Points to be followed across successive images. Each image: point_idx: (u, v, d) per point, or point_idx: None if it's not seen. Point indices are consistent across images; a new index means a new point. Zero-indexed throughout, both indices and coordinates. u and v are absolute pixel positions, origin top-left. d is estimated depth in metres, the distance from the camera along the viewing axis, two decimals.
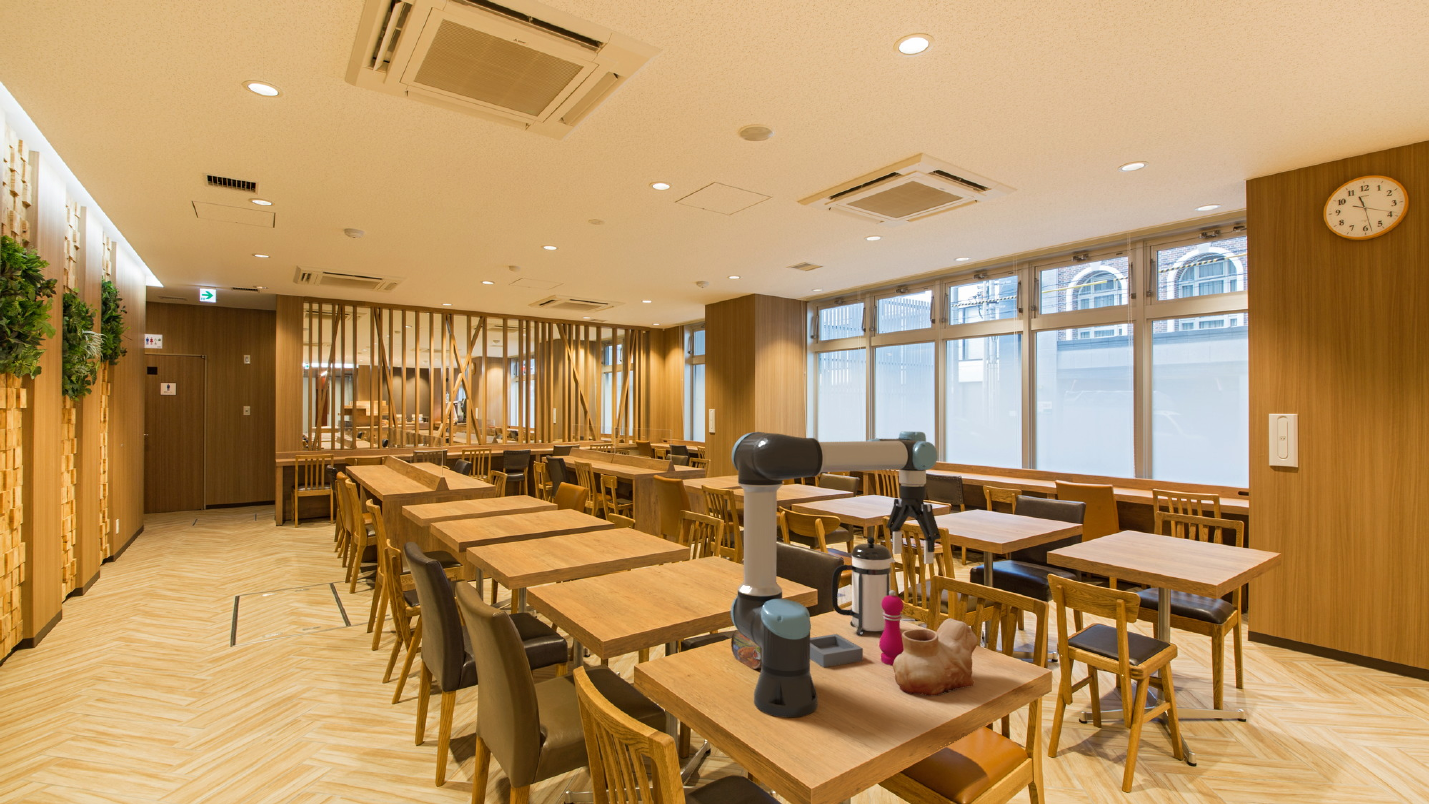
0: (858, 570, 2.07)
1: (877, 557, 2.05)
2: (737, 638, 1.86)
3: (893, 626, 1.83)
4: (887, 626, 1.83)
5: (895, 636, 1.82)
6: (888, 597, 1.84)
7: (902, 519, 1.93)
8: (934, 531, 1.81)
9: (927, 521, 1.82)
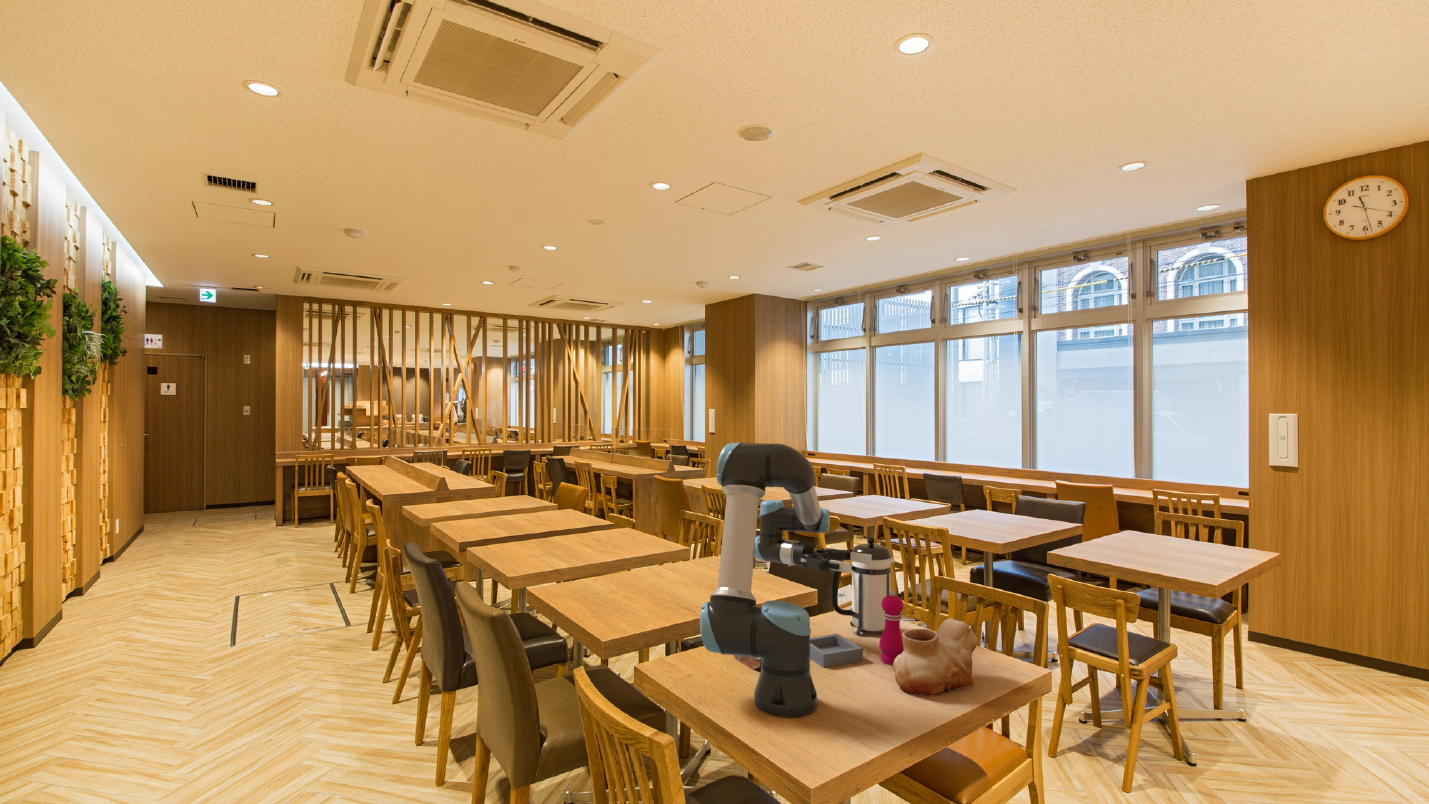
0: (858, 570, 2.07)
1: (877, 557, 2.05)
2: None
3: (893, 626, 1.83)
4: (887, 626, 1.83)
5: (895, 636, 1.82)
6: (888, 597, 1.84)
7: None
8: None
9: (836, 549, 2.04)
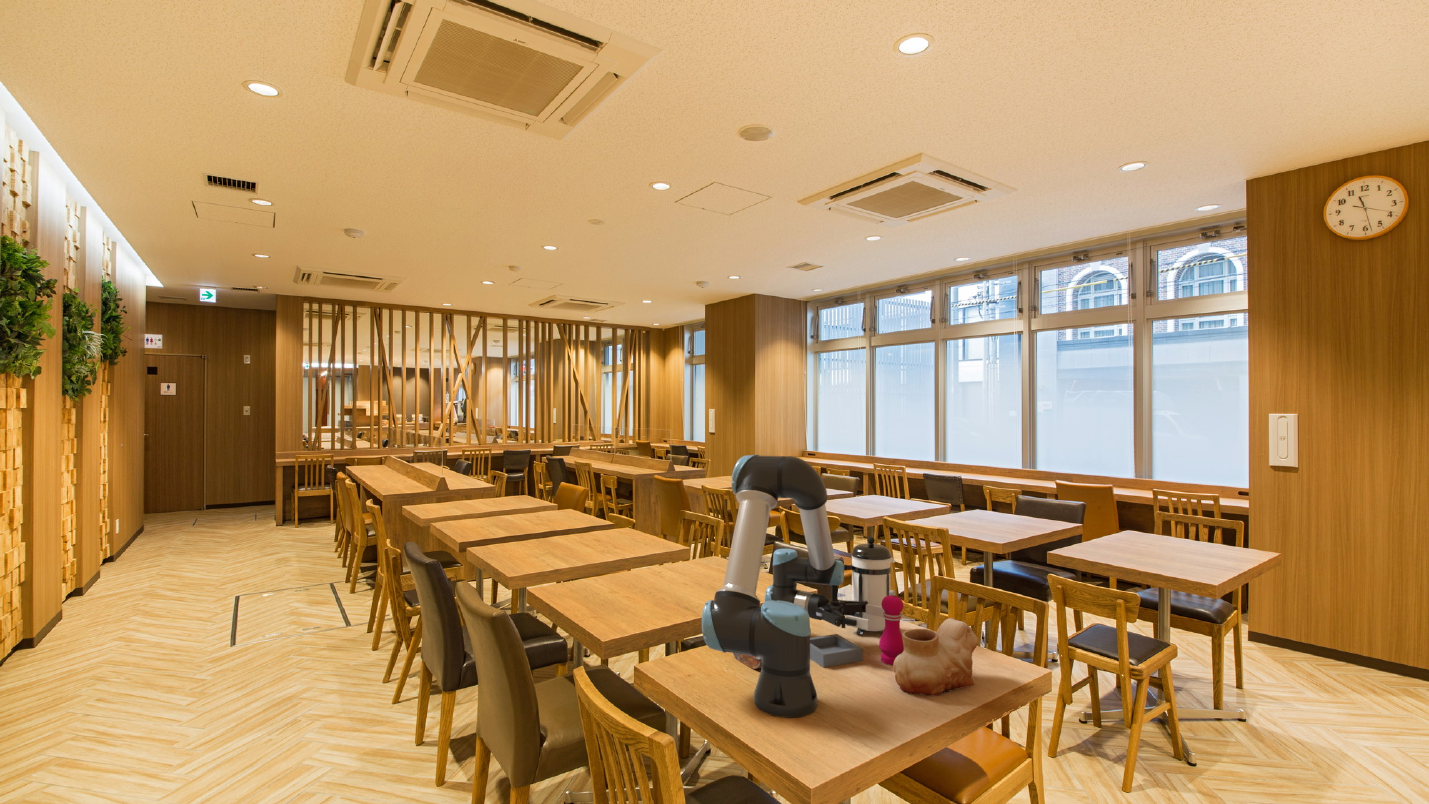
0: (858, 570, 2.07)
1: (877, 557, 2.05)
2: None
3: (893, 626, 1.83)
4: (887, 626, 1.83)
5: (895, 636, 1.82)
6: (888, 597, 1.84)
7: None
8: None
9: (851, 601, 2.01)
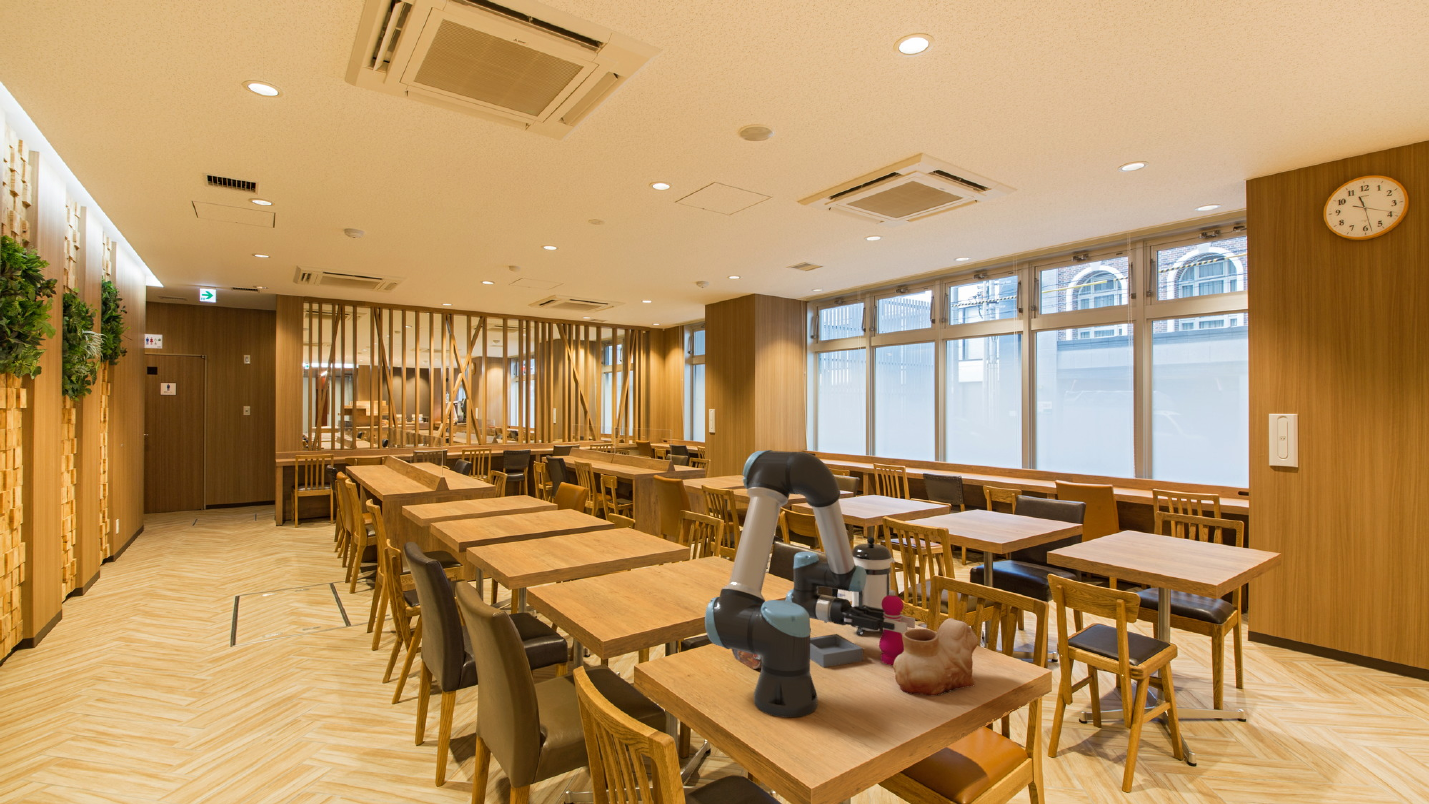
0: None
1: (877, 557, 2.05)
2: None
3: None
4: None
5: (895, 636, 1.82)
6: (888, 597, 1.84)
7: None
8: None
9: (876, 608, 1.93)
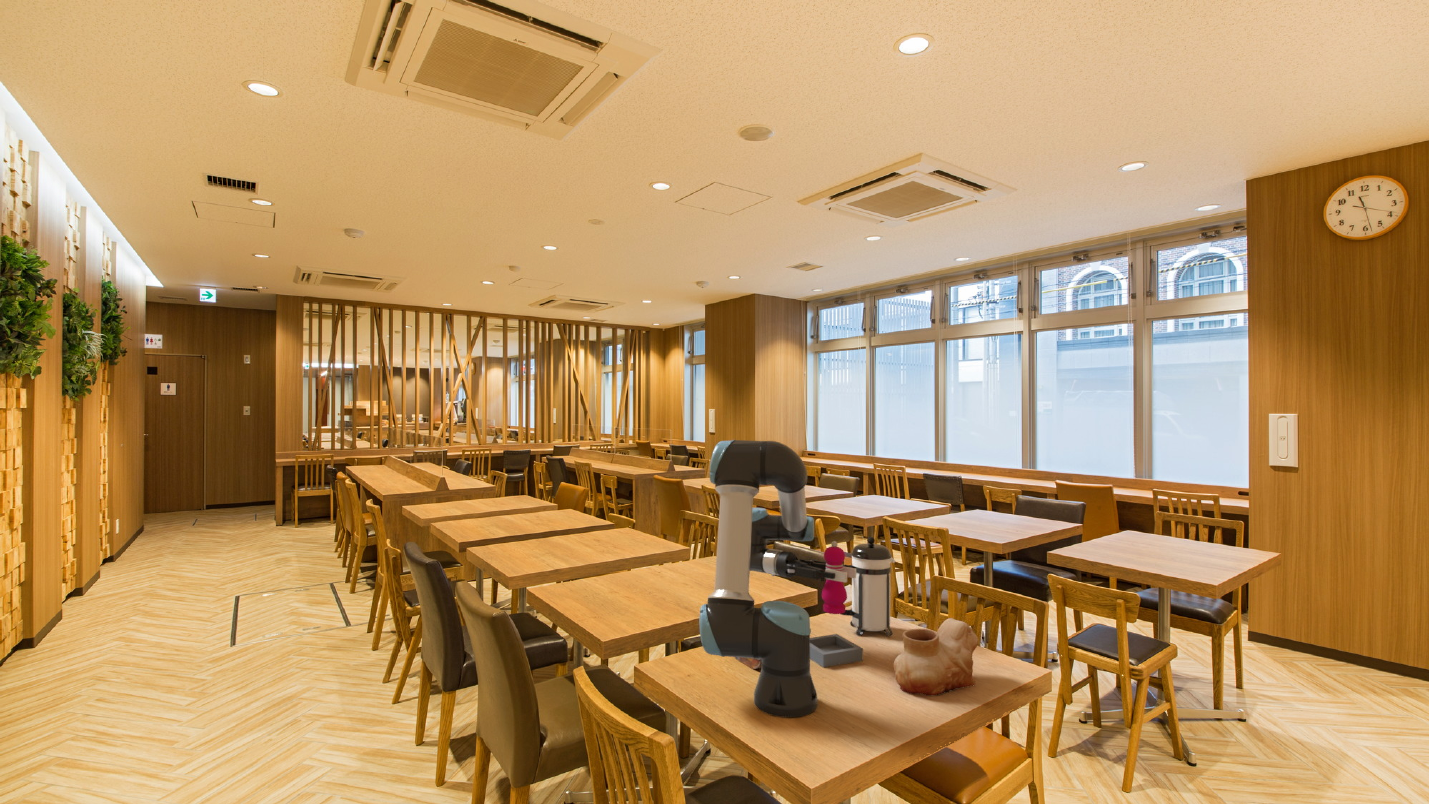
0: (858, 570, 2.07)
1: (877, 557, 2.05)
2: None
3: None
4: None
5: (836, 585, 1.86)
6: (830, 548, 1.88)
7: None
8: None
9: (822, 561, 1.97)
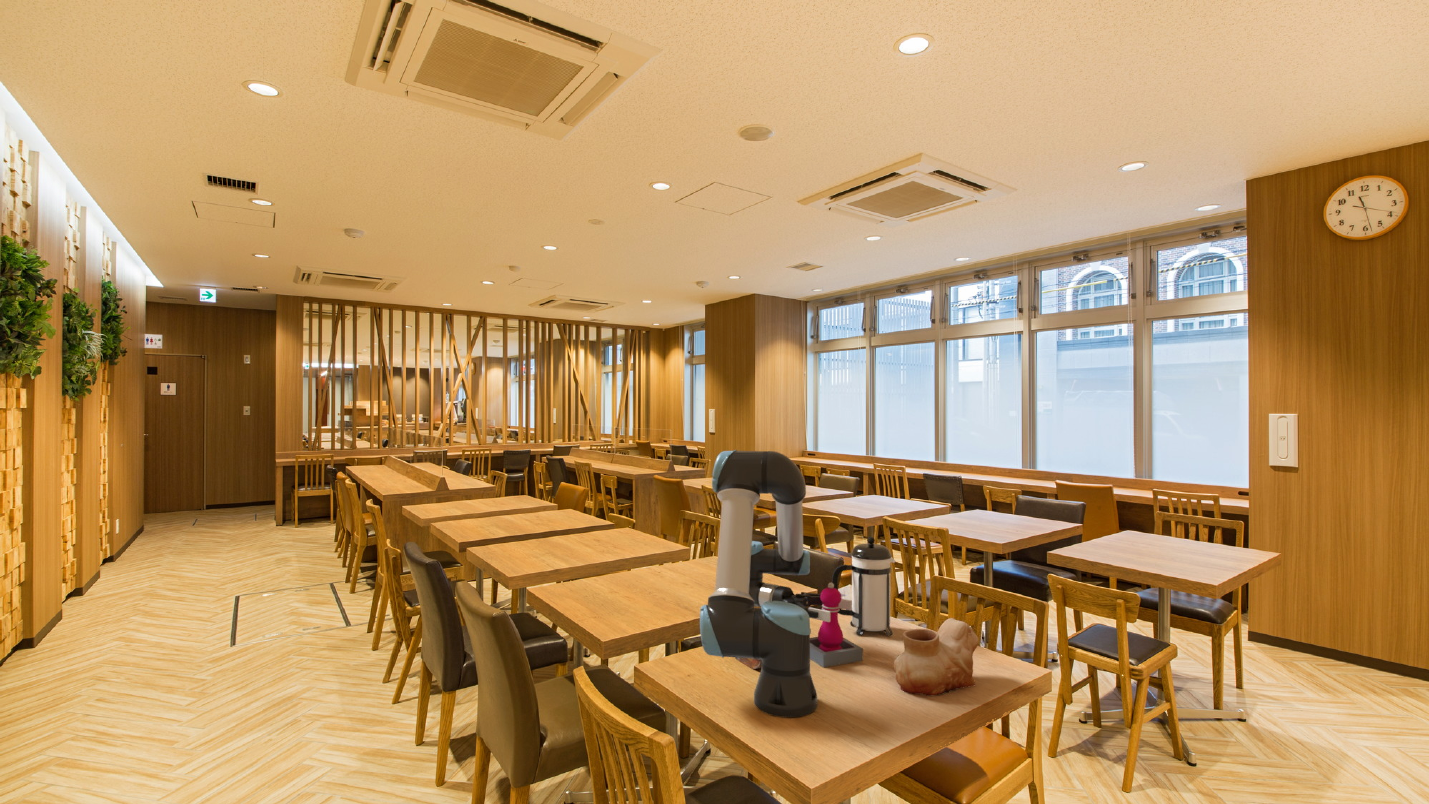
0: (858, 570, 2.07)
1: (877, 557, 2.05)
2: None
3: (830, 618, 1.86)
4: None
5: (833, 627, 1.86)
6: (826, 589, 1.88)
7: None
8: None
9: (816, 593, 2.00)
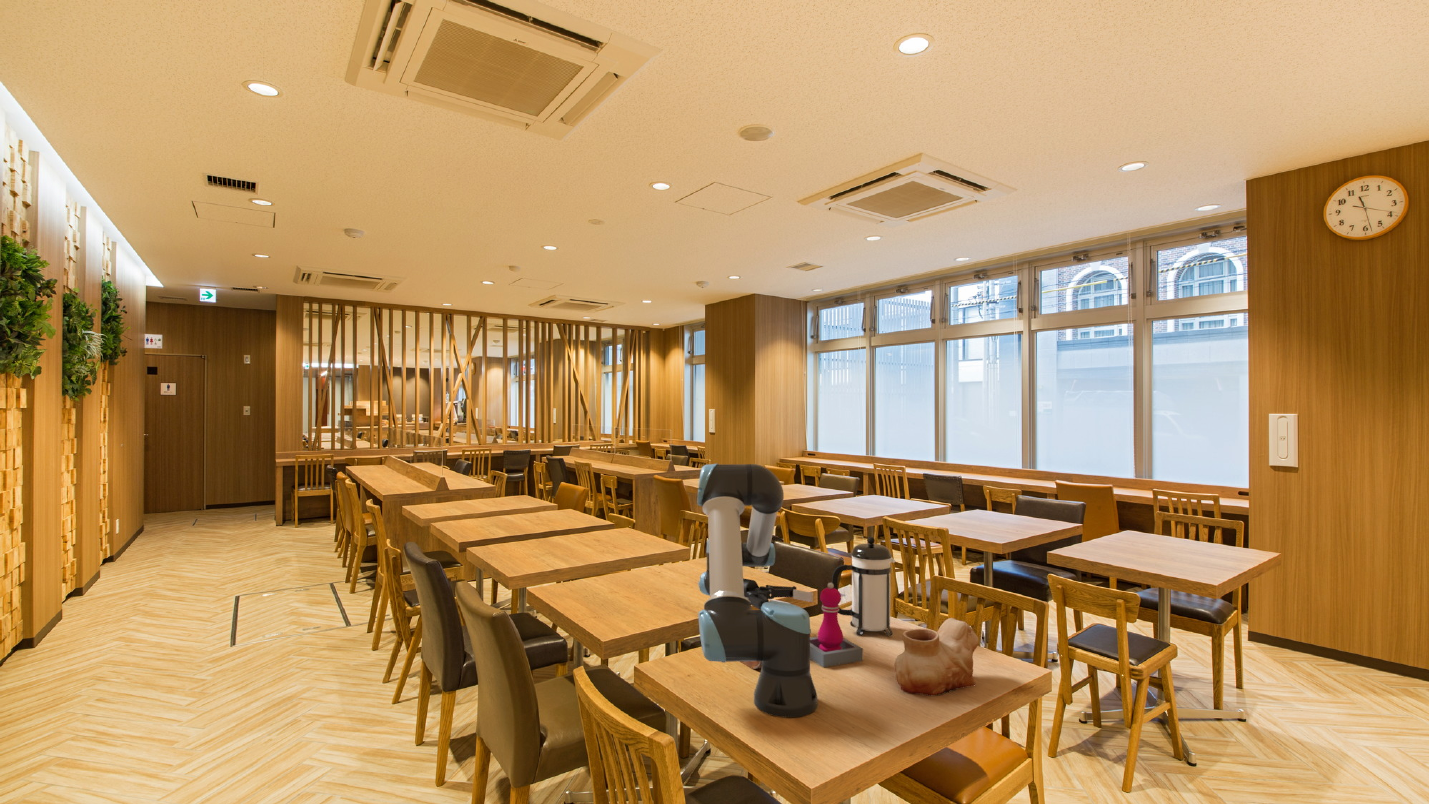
0: (858, 570, 2.07)
1: (877, 557, 2.05)
2: None
3: (830, 618, 1.86)
4: (825, 618, 1.87)
5: (832, 627, 1.86)
6: (826, 589, 1.88)
7: None
8: None
9: (780, 586, 2.07)
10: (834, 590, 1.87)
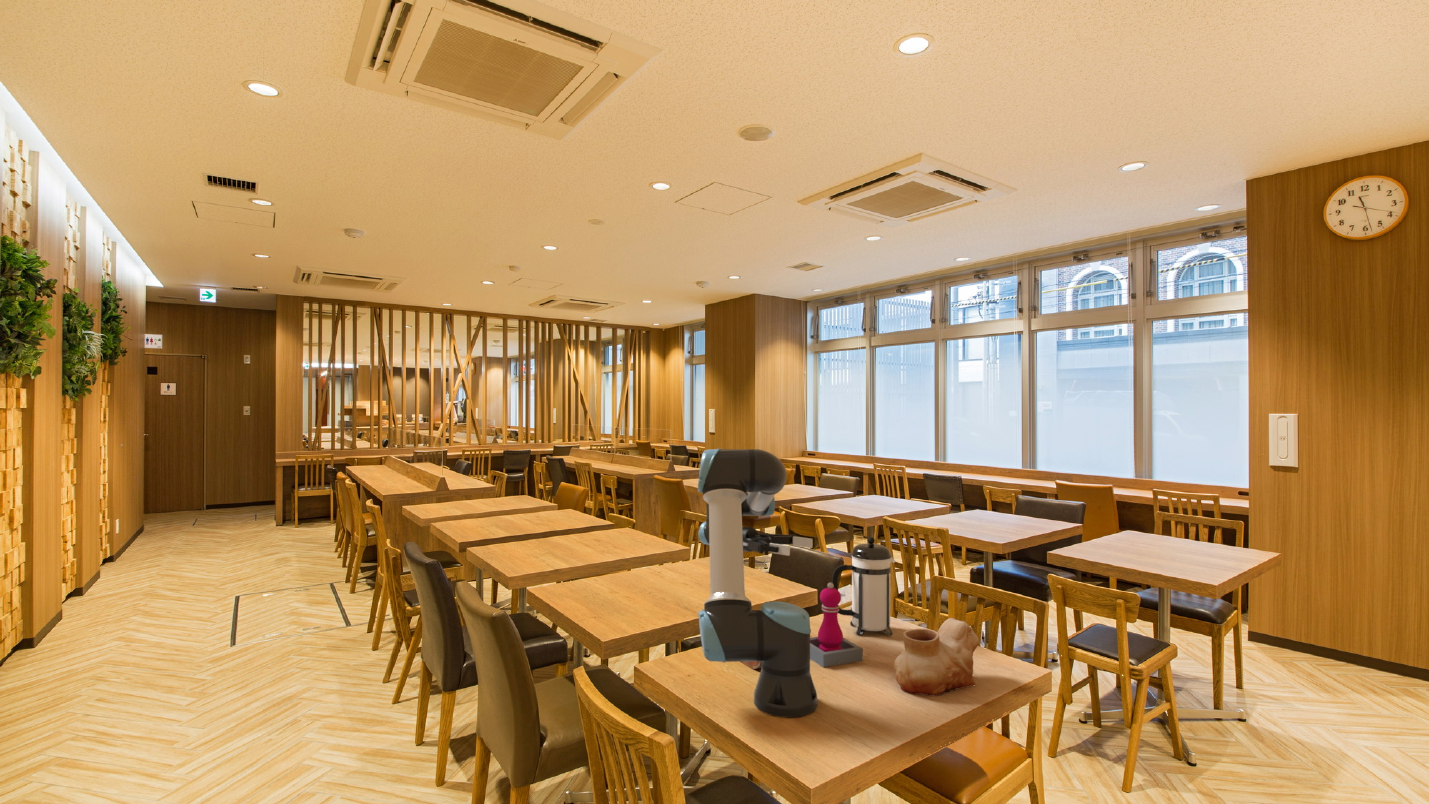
0: (858, 570, 2.07)
1: (877, 557, 2.05)
2: None
3: (830, 618, 1.86)
4: (825, 618, 1.87)
5: (832, 627, 1.86)
6: (826, 589, 1.88)
7: None
8: None
9: (780, 534, 2.08)
10: (834, 590, 1.87)
